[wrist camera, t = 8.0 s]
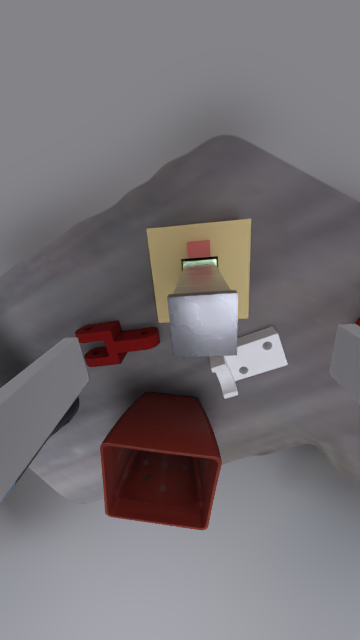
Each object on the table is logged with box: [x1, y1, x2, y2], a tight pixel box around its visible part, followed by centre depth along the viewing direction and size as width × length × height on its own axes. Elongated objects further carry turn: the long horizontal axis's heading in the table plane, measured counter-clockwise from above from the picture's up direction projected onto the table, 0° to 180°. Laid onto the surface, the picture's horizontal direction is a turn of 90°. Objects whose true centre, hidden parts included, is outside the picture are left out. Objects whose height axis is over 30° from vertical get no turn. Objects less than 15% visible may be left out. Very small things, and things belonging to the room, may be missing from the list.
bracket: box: [210, 326, 288, 399], centre depth 42 cm, size 13×7×8 cm, turn 114°
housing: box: [147, 219, 251, 323], centre depth 35 cm, size 14×14×10 cm
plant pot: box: [100, 392, 222, 530], centre depth 45 cm, size 19×19×17 cm
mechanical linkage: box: [75, 321, 160, 367], centre depth 44 cm, size 16×7×5 cm, turn 100°
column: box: [167, 259, 238, 358], centre depth 24 cm, size 5×5×21 cm
